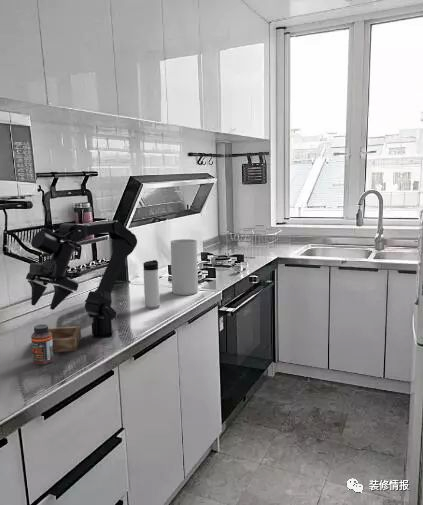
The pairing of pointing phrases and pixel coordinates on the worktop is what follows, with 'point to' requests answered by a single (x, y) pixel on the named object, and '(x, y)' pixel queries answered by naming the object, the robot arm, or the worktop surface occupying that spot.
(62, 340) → the box
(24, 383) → the worktop surface
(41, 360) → the supplement bottle
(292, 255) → the worktop surface
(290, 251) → the worktop surface
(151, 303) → the travel mug
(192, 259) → the cylinder vase
